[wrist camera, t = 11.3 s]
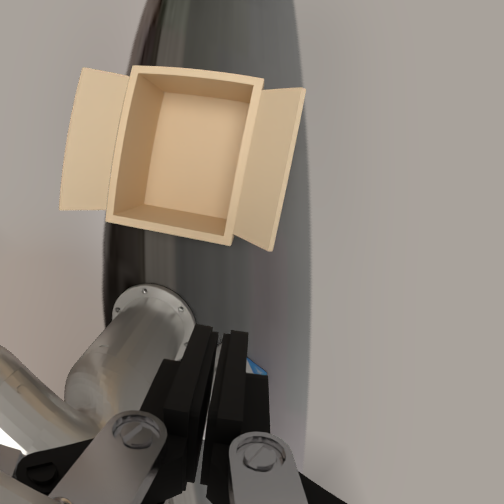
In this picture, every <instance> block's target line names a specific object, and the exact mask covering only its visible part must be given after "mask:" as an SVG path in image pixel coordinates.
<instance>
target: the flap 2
mask: <svg viewBox="0 0 504 504" xmlns="http://www.w3.org/2000/svg"><path fill="white" fill-rule="evenodd" d="M305 93H306V89H304V88H302V87H301V88H284V89H271V90H262V91H261V96H260V101H259V106H258V110H257V115H256V120H255V125H254V130H253V135H252V139H251V144H250V149H249V154H248V159H247V164H246V169H245V174H244V179H243V184H242V190H241V195H240V200H239V205H238V210H237V215H236V221H235V226H234V231H233V234H234V235H236V236H238V237H240V238H242V239H244V240H246V241H248V242H250V243H252V244H254V245H256V246H258V247H260V248H262V249H264V250H266V251H273V247H274V243H275V238H276V233H277V229H278V224H279V220H280V215H281V210H282V206H283V201H284V196H285V191H286V187H287V182H288V177H289V172H290V168H291V163H292V158H293V153H294V148H295V143H296V138H297V133H298V128H299V123H300V118H301V113H302V108H303V103H304V98H305Z"/></svg>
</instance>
